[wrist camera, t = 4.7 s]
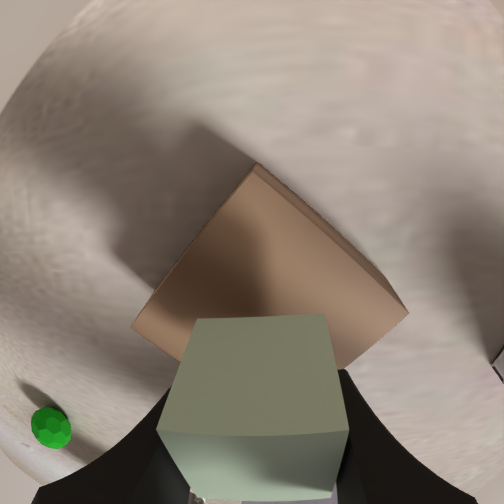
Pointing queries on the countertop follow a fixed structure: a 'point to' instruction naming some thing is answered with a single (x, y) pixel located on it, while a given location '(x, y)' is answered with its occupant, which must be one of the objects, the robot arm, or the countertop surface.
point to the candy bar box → (499, 365)
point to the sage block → (257, 410)
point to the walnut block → (271, 274)
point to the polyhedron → (51, 427)
